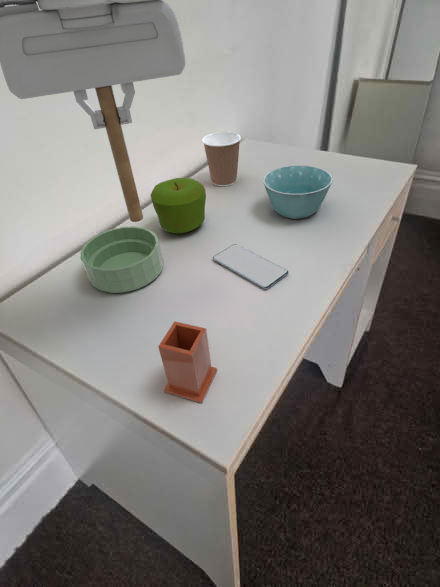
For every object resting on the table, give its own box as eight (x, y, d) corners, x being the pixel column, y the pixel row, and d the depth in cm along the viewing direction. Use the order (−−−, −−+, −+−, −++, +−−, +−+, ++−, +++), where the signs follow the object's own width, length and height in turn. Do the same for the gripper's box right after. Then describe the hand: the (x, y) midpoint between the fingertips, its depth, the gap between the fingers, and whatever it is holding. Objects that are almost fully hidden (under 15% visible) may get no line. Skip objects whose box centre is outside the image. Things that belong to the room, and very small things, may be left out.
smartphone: (266, 288, 68) (211, 257, 77) (266, 291, 69) (211, 259, 77) (290, 271, 72) (235, 243, 80) (289, 273, 72) (235, 245, 81)
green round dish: (74, 287, 74) (63, 262, 70) (115, 245, 84) (109, 222, 80) (140, 301, 69) (133, 276, 65) (175, 255, 79) (171, 231, 76)
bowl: (263, 227, 86) (264, 194, 80) (262, 196, 97) (262, 165, 92) (333, 226, 84) (338, 192, 79) (323, 194, 96) (326, 163, 90)
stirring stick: (127, 221, 56) (91, 87, 44) (134, 214, 57) (101, 83, 45) (138, 222, 55) (105, 88, 43) (145, 216, 56) (114, 83, 45)
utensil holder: (164, 392, 54) (151, 348, 47) (181, 360, 58) (172, 317, 51) (202, 403, 52) (194, 360, 45) (217, 370, 56) (212, 326, 50)
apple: (191, 245, 82) (185, 198, 75) (146, 234, 87) (136, 189, 79) (217, 218, 90) (213, 174, 83) (175, 210, 95) (168, 167, 87)
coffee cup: (227, 170, 111) (225, 129, 104) (249, 181, 105) (248, 137, 97) (199, 181, 107) (194, 138, 99) (220, 192, 101) (216, 148, 93)
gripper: (-37, -5, 34) (26, 148, 43) (179, -26, 38) (195, 118, 47) (-26, -6, 38) (29, 132, 47) (166, -25, 42) (182, 106, 51)
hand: (113, 125), depth 47 cm, fingers closed on stirring stick, 2 cm apart
